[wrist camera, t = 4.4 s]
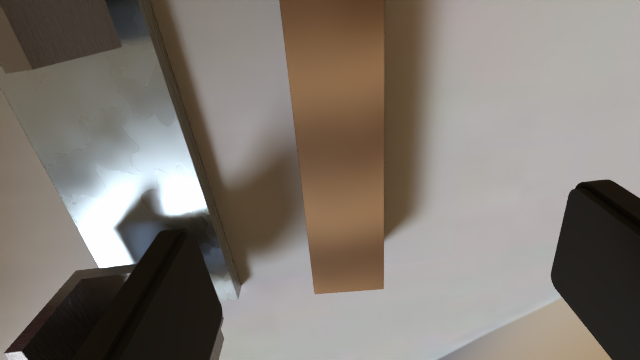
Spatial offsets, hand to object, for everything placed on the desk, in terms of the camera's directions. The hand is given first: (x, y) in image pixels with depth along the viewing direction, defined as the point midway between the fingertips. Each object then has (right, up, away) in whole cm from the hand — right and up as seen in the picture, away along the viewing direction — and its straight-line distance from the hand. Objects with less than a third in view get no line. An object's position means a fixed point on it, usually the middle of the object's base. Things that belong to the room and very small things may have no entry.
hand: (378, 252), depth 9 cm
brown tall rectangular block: (-1, +5, +11) cm, 12 cm away
